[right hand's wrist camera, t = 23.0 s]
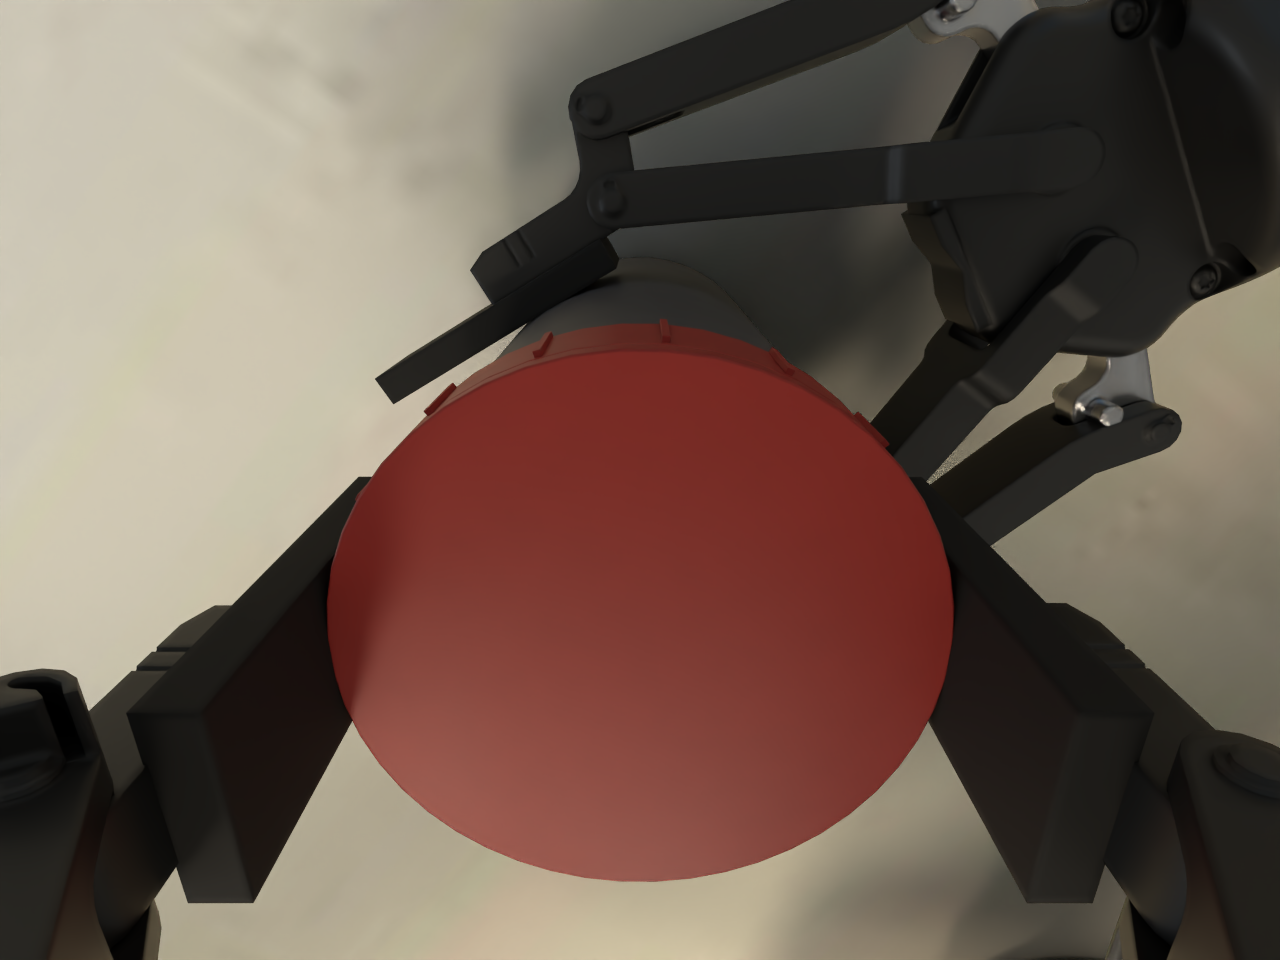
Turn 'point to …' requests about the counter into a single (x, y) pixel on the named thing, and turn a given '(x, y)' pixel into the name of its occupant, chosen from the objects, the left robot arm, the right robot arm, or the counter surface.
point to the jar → (646, 304)
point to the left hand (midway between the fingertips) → (499, 514)
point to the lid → (640, 606)
